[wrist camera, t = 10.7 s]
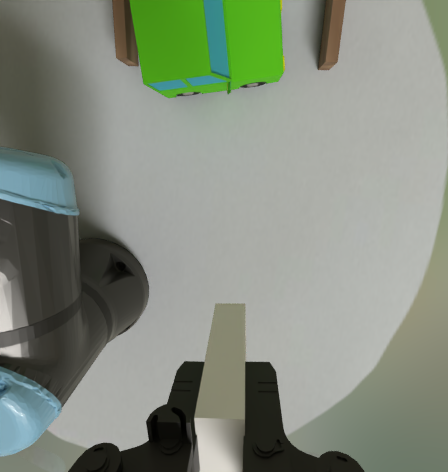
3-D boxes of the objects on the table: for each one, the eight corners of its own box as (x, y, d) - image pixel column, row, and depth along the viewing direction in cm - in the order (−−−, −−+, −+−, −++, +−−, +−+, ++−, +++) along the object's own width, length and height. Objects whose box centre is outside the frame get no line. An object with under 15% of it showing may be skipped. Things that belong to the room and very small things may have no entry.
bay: (128, 66, 35) (116, 58, 32) (123, -33, 32) (108, -53, 29) (328, 70, 34) (337, 62, 31) (341, -34, 31) (352, -55, 28)
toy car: (281, 94, 35) (293, 76, 26) (172, 108, 36) (145, 96, 27) (276, -9, 32) (288, -72, 23) (157, 11, 34) (122, -41, 24)
